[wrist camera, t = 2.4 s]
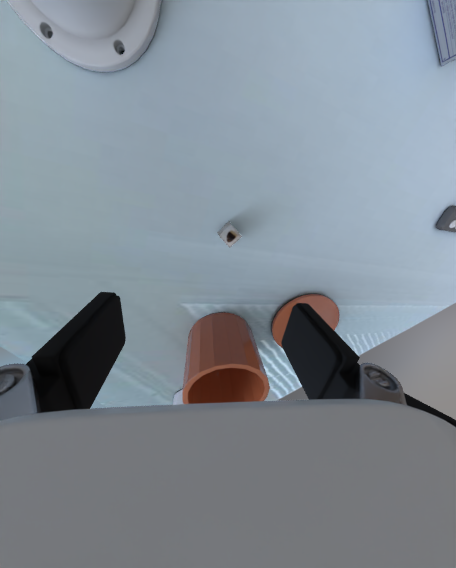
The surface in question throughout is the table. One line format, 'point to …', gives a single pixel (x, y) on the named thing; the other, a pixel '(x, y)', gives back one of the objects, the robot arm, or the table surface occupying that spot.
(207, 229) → the table surface
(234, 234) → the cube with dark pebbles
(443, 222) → the key chain
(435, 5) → the medicine box
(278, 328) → the lid
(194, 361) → the canister
